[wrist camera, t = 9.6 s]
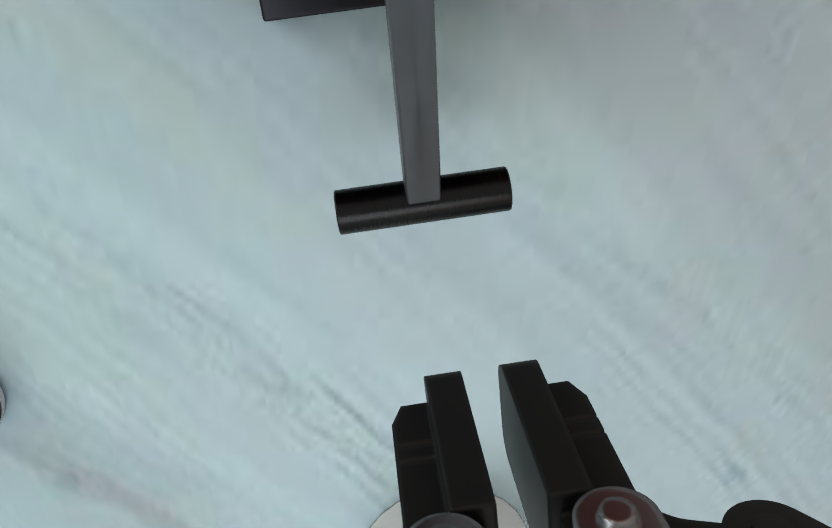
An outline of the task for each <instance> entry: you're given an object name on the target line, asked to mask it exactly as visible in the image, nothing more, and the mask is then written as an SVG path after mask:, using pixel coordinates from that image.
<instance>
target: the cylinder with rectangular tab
mask: <svg viewBox="0 0 832 528" xmlns="http://www.w3.org/2000/svg"><path fill="white" fill-rule="evenodd" d="M494 497H495V500H496V505H497V516H498V528H526V527H525V525H524V523H523V521H522V520H521V518H520V516H519V515H518V513H517V512H516V511H515V510H514V509H513V508H512V507H511V506H510V505H508V504H507V503H506V502H505V501H504V500H502V499H500V498H498V497H496V496H494ZM371 528H403V523H402V514H401V504H400V501H399V502H397V503H396V504H395V505H393V506H392V507H391V508H389V509H388V510H387V511H385V512H384V513H383V514H381V515H380V516H379V518H378V519H377V520H376V521H375V523H374V524H373V525H372V526H371Z"/></svg>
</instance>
